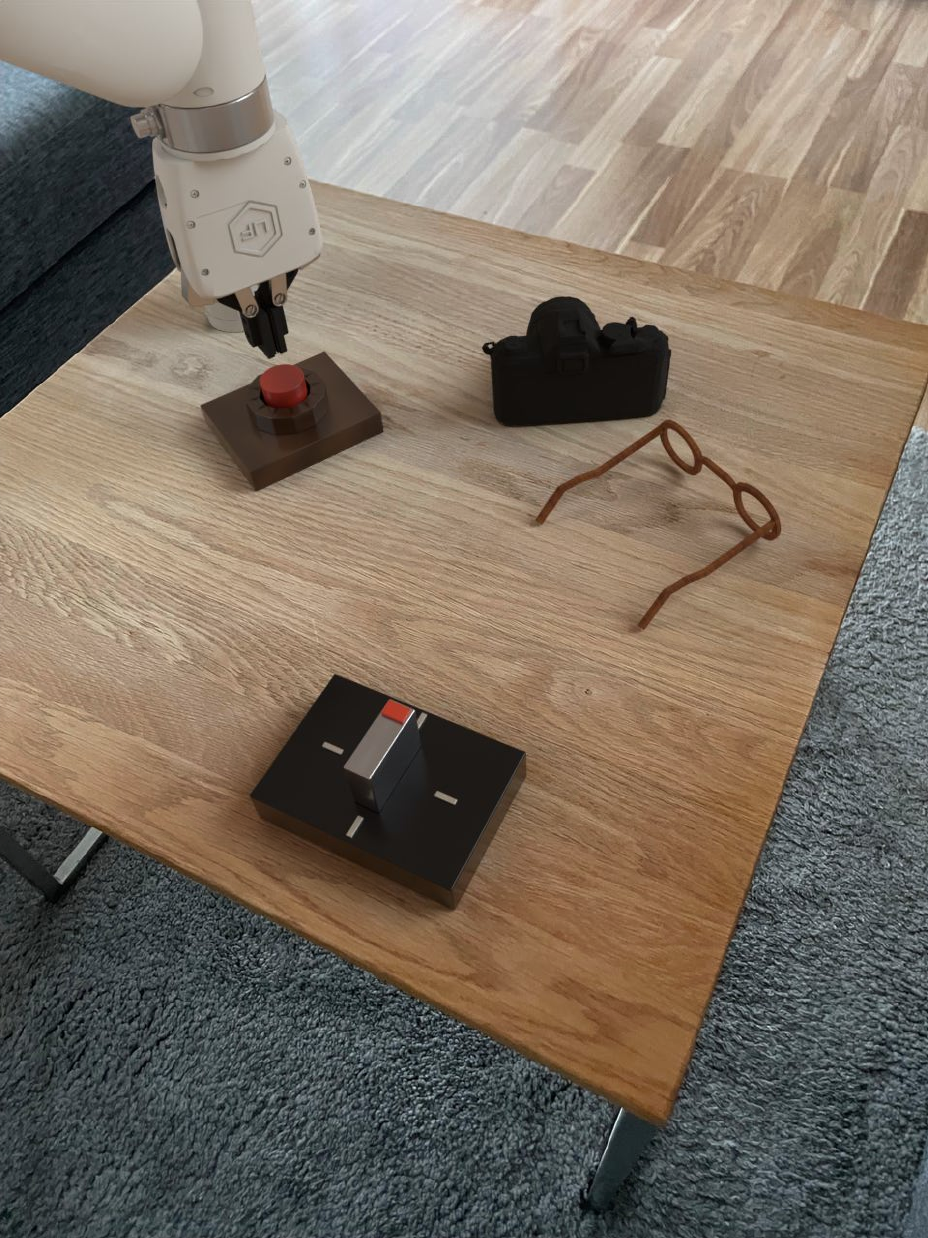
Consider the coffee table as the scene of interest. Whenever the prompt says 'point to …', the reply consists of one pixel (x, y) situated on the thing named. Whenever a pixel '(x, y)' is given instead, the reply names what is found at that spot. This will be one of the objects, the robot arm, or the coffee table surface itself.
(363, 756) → the hob knob
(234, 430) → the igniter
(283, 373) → the button
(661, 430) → the glasses
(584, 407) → the film camera
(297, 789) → the black square plate
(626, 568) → the coffee table surface
